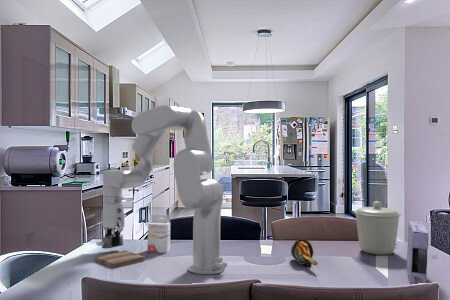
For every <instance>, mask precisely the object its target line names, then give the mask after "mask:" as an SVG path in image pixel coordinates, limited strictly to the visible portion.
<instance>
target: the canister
mask: <svg viewBox="0 0 450 300" xmlns="http://www.w3.org/2000/svg"><path fill="white" fill-rule="evenodd" d="M382 206H383V205H382V202H380V201H377V200H376V201H375V200H374V201H373V202H372V206H365V207H359V208H357V209H355V210H354V214H355V217H356V218H355V219H356V220H355V221H356V229H357V236H358V237H357V238H358V244H359V248H360V249H361V250H362V252H365V253H367V254H371V255H375V256H377V255H378V256H380V255H381V256H386V255H387V256H388V255H391V254H393V252H394V251H395V249H396V245H397V236H398V230H399V221H400V216H401V215H402V213H400V212H398V210H397V209H393V208H389V207H382Z"/></svg>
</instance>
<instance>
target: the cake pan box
mask: <svg viewBox="0 0 450 300" xmlns="http://www.w3.org/2000/svg"><path fill="white" fill-rule="evenodd" d="M407 226H408V227H407V249H406V251H407V253H406V274H407V278H408V282H409V285H410V284H418V283H426V284H427V281H428V280H427V279H428V278H427V276H428V275H427V271H428V270H427V269H428V249H429V232H428V230H427V228H426V226H425V225H424V223H423V222H421V221H416V220H415V221H413V220H409V221H408V225H407Z"/></svg>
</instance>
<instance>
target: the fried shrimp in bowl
mask: <svg viewBox="0 0 450 300" xmlns="http://www.w3.org/2000/svg"><path fill="white" fill-rule="evenodd" d="M290 253H291V256H292V257H293V258H294V260H295V261H296V262H297V263H299V264H300V265H301V266H303V265H305V266H311V265H313V266H315V267H316V266H318V264H319V262H317V261H316V260H315V259H313V256H314V249H313V246H312V244H311V242H309V240H308V239H306V238H298V239H297V240H295V241H294V242H293V244H292V246H291V249H290Z"/></svg>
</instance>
